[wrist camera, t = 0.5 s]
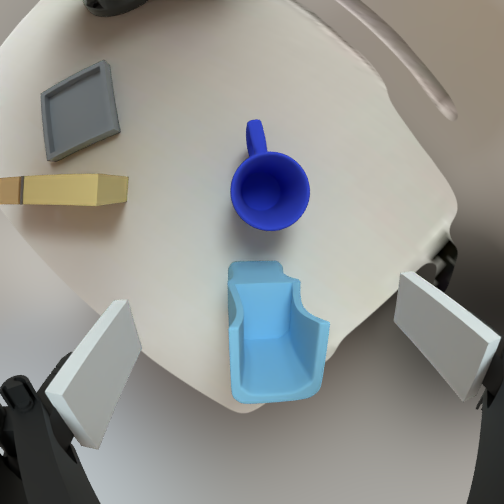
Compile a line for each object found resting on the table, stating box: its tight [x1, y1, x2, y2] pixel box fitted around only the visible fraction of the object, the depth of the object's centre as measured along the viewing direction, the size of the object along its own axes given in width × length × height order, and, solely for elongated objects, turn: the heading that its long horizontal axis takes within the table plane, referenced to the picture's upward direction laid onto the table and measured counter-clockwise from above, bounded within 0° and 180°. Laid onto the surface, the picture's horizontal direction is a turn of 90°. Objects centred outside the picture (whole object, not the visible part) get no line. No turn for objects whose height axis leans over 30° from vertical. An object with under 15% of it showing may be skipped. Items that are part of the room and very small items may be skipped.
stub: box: [0, 177, 21, 204], centre depth 30 cm, size 7×4×10 cm, turn 84°
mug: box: [231, 119, 310, 231], centre depth 33 cm, size 8×12×10 cm
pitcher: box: [228, 261, 330, 404], centre depth 31 cm, size 8×8×20 cm
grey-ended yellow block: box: [20, 174, 128, 206], centre depth 31 cm, size 12×4×10 cm, turn 84°
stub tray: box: [41, 60, 120, 162], centre depth 32 cm, size 12×12×2 cm
